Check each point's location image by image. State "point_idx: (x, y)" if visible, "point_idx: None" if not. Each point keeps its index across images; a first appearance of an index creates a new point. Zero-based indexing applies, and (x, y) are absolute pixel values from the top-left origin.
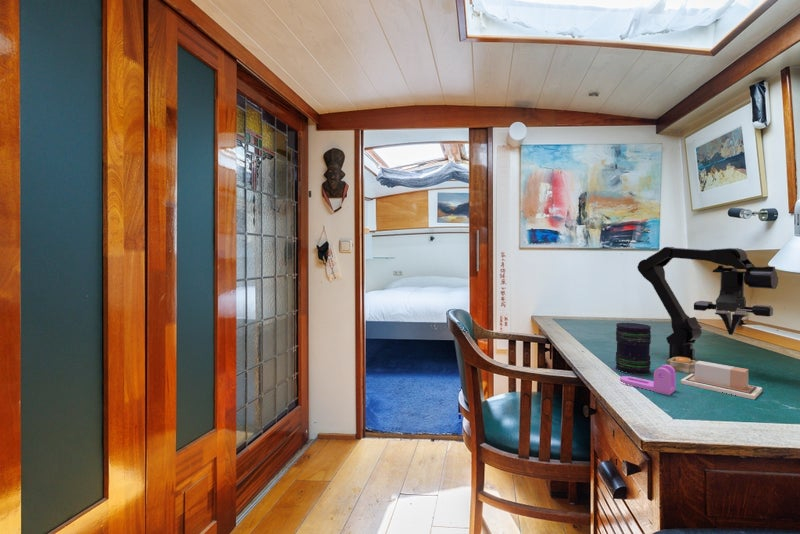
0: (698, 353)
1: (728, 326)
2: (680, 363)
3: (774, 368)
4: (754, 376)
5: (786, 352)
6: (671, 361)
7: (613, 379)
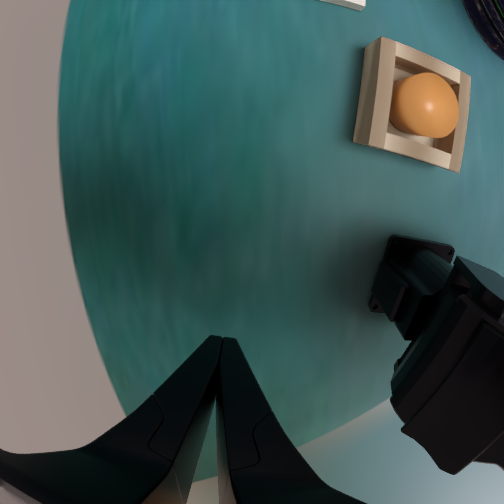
0: (340, 413)
1: (233, 391)
2: (425, 54)
3: (140, 368)
4: (157, 203)
5: None
6: (455, 68)
7: None
